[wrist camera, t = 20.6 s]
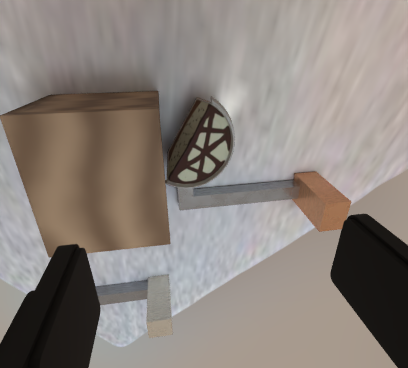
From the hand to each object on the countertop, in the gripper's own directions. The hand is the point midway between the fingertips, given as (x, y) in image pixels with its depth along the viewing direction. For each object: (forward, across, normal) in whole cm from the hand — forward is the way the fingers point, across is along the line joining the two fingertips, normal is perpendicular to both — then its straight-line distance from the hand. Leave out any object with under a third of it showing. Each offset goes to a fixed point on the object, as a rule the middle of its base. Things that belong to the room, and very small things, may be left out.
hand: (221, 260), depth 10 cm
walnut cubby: (+33, +9, +7) cm, 35 cm away
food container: (+34, -4, +5) cm, 34 cm away
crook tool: (+33, -12, +12) cm, 37 cm away
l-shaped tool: (+33, +12, +35) cm, 50 cm away
